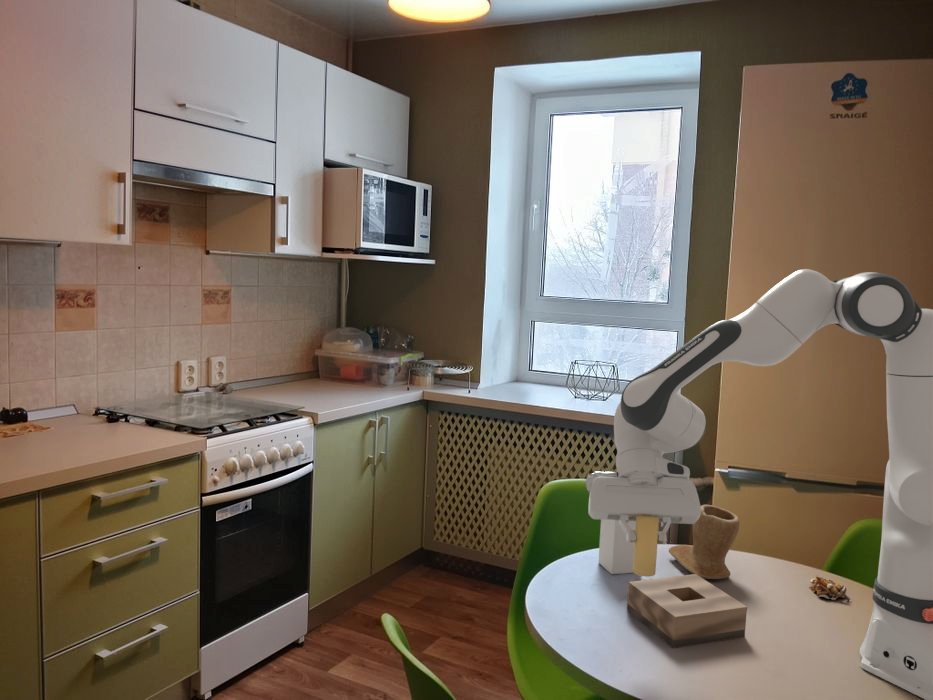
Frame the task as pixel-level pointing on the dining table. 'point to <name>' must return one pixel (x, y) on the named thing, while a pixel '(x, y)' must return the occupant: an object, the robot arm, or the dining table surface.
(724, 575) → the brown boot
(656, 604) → the bore block
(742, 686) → the dining table surface
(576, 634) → the dining table surface
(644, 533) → the pin
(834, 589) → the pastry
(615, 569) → the milk carton
